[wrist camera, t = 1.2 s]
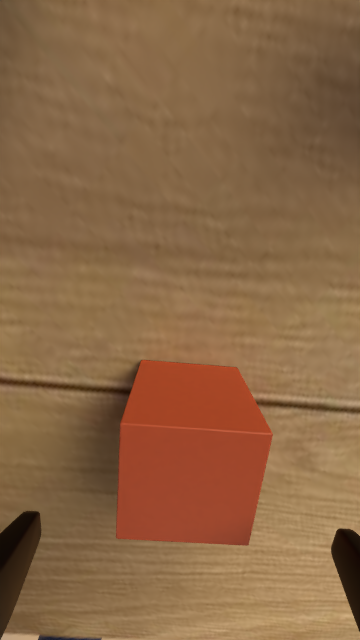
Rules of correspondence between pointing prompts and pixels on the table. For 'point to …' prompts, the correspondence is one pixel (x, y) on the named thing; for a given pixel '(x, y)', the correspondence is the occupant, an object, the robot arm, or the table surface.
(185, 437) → the block
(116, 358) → the table surface
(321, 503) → the table surface
